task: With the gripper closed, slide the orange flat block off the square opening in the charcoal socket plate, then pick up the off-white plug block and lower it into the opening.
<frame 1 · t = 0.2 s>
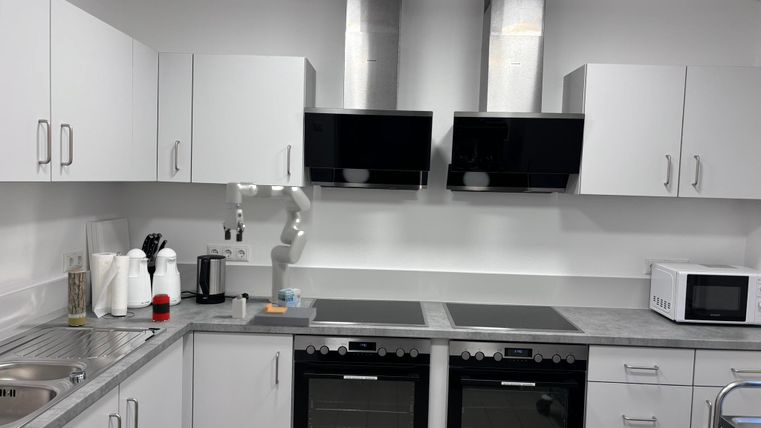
hand: (233, 240, 262), 37 cm above the worktop, tool pointing down, fingers open, 9 cm apart
light bulb box: (289, 310, 272), on the worktop
brown bark patterned cylinder: (77, 325, 233), on the worktop
socket plate: (286, 319, 252), on the worktop
orange flat block: (276, 308, 252), point 5 cm above the worktop, slide at 0.0 cm
soda can: (161, 320, 246), on the worktop
plug: (239, 317, 255), on the worktop
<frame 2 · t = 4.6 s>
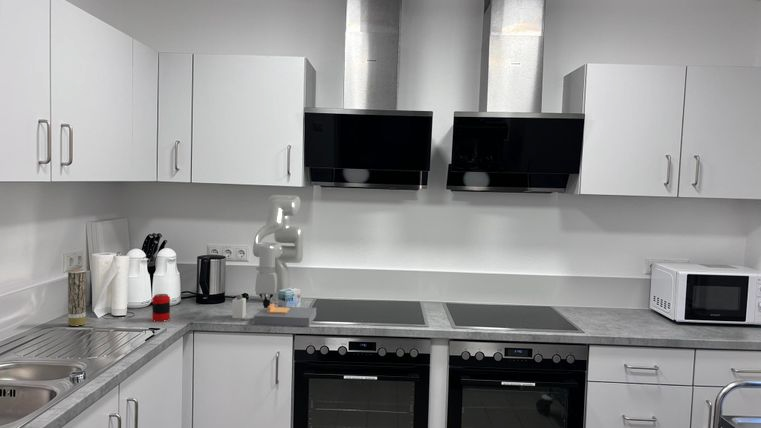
hand: (266, 307, 252), 6 cm above the worktop, tool pointing down, fingers closed
orange flat block: (278, 308, 252), point 5 cm above the worktop, slide at 1.2 cm, touching gripper
everything else where it was.
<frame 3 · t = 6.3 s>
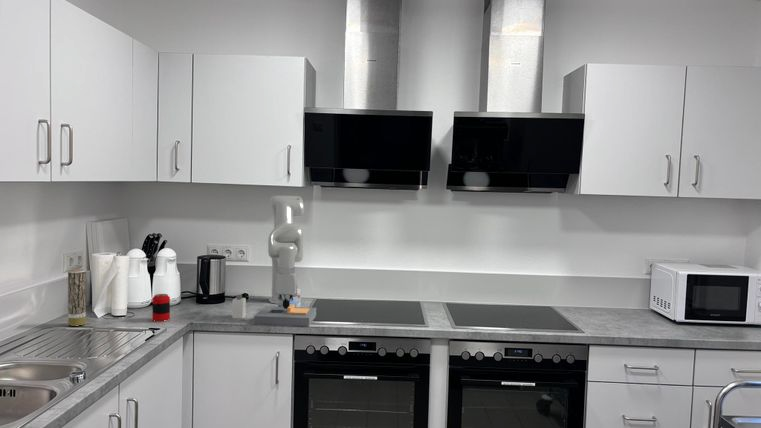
hand: (286, 308, 252), 6 cm above the worktop, tool pointing down, fingers closed
orange flat block: (298, 309, 252), point 5 cm above the worktop, slide at 10.9 cm, touching gripper
everything else where it was.
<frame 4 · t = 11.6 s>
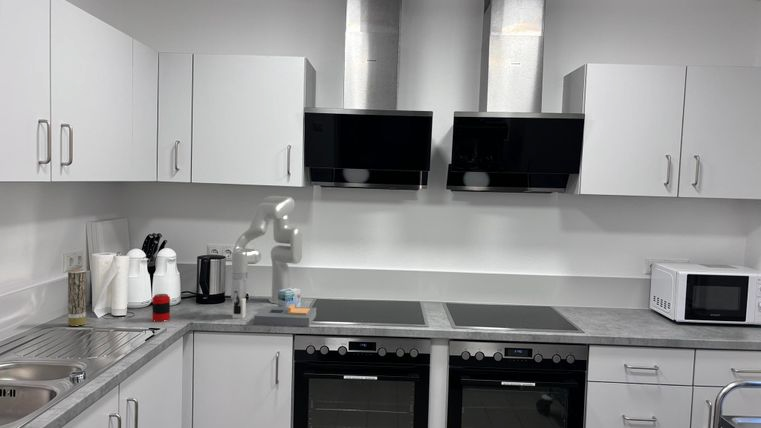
hand: (239, 312, 255), 2 cm above the worktop, tool pointing down, fingers closed on plug, 5 cm apart
orange flat block: (298, 309, 252), point 5 cm above the worktop, slide at 11.1 cm
plug: (239, 316, 255), on the worktop, touching gripper
everything else where it was.
when the fingers open (5 cm above the worktop, at t = 18.7 s): plug drops 3 cm, resting in socket plate.
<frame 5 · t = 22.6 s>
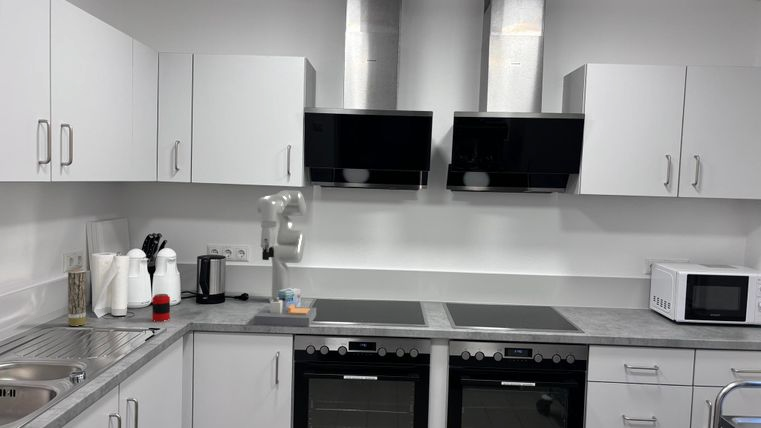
hand: (268, 258, 261), 28 cm above the worktop, tool pointing down, fingers open, 9 cm apart
plug: (275, 319, 252), resting in socket plate
everything else where it was.
at the end: plug 0.1 cm from the target spot on the socket plate, point 0.0 cm above the socket plate's base; plug tilted 0°; orange flat block slide at 11.1 cm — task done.
